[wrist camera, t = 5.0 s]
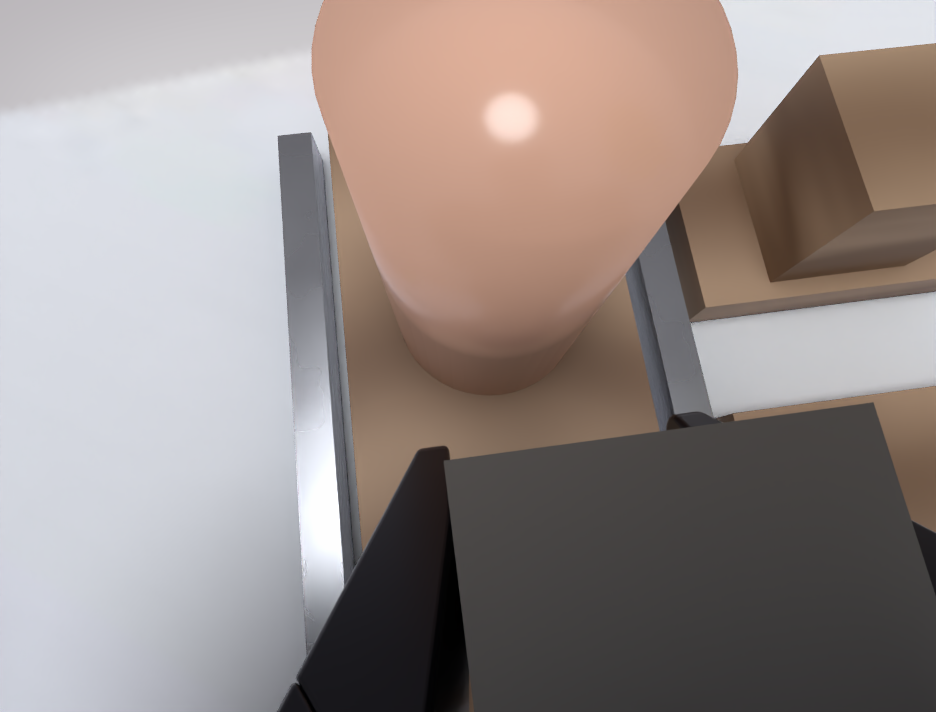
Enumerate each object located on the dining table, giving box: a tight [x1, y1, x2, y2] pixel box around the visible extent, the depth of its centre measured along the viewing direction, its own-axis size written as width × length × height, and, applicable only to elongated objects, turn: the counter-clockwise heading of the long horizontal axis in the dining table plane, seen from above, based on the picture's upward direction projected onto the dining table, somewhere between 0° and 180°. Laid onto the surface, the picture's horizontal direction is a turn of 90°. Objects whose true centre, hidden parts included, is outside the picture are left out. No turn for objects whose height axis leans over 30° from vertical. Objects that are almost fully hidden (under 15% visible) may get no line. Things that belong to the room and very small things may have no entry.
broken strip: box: [665, 143, 936, 532], centre depth 16 cm, size 14×8×1 cm, turn 8°
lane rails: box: [278, 132, 713, 655], centre depth 15 cm, size 22×11×1 cm, turn 8°
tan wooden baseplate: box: [328, 134, 936, 712], centre depth 10 cm, size 16×8×12 cm, turn 8°
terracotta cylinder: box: [312, 0, 738, 395], centre depth 11 cm, size 5×5×9 cm
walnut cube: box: [734, 43, 936, 283], centre depth 14 cm, size 4×4×4 cm
